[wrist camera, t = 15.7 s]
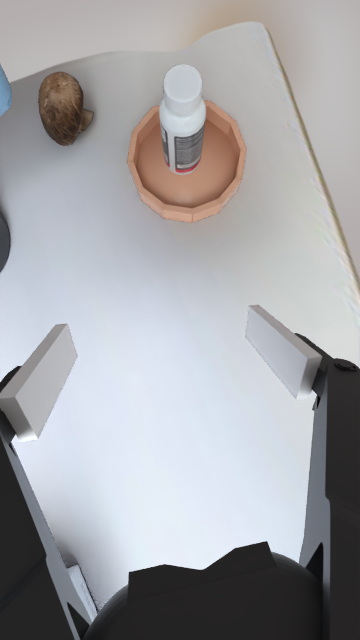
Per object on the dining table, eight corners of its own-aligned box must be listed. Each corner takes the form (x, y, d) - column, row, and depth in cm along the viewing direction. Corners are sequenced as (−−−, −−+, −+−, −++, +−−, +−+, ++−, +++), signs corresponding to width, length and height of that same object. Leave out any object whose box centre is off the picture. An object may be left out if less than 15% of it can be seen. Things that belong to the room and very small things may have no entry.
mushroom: (108, 90, 29) (60, 50, 24) (99, 159, 32) (55, 136, 27) (78, 94, 33) (31, 60, 28) (72, 155, 36) (29, 134, 31)
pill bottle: (207, 150, 31) (218, 70, 21) (190, 182, 31) (195, 117, 21) (173, 134, 31) (170, 48, 21) (157, 167, 31) (146, 94, 21)
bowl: (110, 175, 32) (105, 163, 29) (178, 93, 32) (178, 75, 30) (194, 243, 32) (195, 236, 29) (261, 160, 32) (268, 146, 29)
